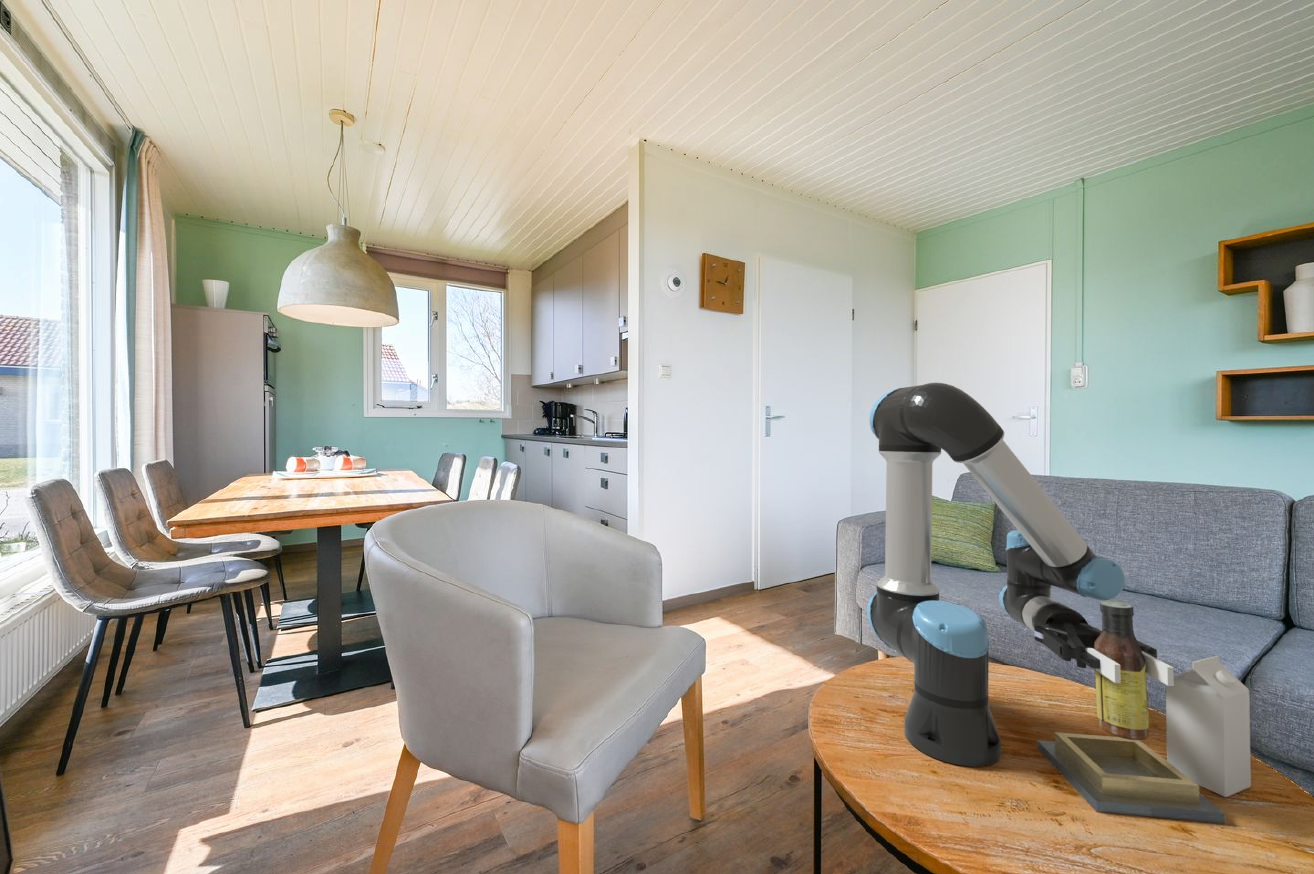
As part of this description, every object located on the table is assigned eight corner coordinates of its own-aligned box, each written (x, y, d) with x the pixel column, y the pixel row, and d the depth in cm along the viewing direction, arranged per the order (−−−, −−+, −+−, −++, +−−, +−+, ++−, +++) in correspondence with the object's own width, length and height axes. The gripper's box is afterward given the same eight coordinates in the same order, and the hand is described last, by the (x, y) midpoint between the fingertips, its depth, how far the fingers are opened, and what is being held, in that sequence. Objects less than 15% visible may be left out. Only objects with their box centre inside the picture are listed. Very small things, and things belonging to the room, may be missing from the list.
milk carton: (1166, 771, 87) (1164, 653, 87) (1192, 761, 89) (1190, 647, 89) (1225, 798, 80) (1223, 671, 80) (1251, 787, 83) (1249, 664, 83)
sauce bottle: (1161, 743, 81) (1158, 611, 81) (1118, 743, 81) (1116, 611, 81) (1124, 720, 87) (1122, 598, 88) (1085, 720, 88) (1083, 598, 88)
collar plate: (1096, 811, 78) (1096, 783, 78) (1037, 748, 93) (1037, 725, 93) (1225, 824, 75) (1224, 795, 75) (1141, 757, 91) (1141, 733, 91)
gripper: (1112, 644, 100) (1219, 705, 78) (1000, 639, 104) (1072, 696, 81) (1111, 604, 100) (1218, 653, 78) (999, 601, 104) (1071, 646, 81)
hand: (1143, 675), depth 79 cm, fingers closed on sauce bottle, 6 cm apart
